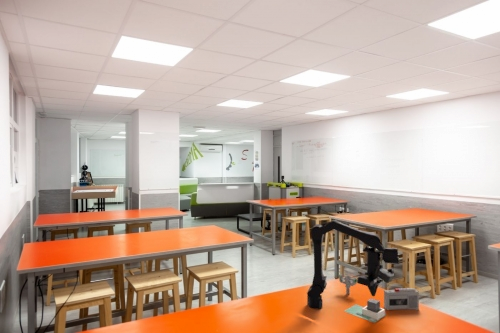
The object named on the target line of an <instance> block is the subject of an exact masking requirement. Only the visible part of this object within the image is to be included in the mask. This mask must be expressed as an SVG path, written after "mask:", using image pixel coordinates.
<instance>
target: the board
mask: <svg viewBox="0 0 500 333" xmlns="http://www.w3.org/2000/svg"><path fill="white" fill-rule="evenodd" d="M364 307H365V306H361V305H359V304H353V305H352V306H350V307H349V308H347V309H345V310H343V312H344V313H347V314H350V315H353V316H355V317H357V318H361V319H363V320H366V321H367V322H368V321H369V322H371V323H375V324H376V322H378V321H379V320H381V319H382V318H385V316H386V317H387V315H386V314H385V315H384V316H383V317H381V318H380V319H378V320H377V319H375V318H371V317H368V316H366V315H363V314H362V308H364Z"/></svg>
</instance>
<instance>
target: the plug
mask: <svg viewBox="0 0 500 333" xmlns="http://www.w3.org/2000/svg"><path fill="white" fill-rule="evenodd" d="M366 301H367V302H366V303H367V304H366V306H367V310H370V311H373V312H376V313H378V312H379V311H380V308H381V300H377V299H375V298H370V299H368V300H366Z"/></svg>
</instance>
